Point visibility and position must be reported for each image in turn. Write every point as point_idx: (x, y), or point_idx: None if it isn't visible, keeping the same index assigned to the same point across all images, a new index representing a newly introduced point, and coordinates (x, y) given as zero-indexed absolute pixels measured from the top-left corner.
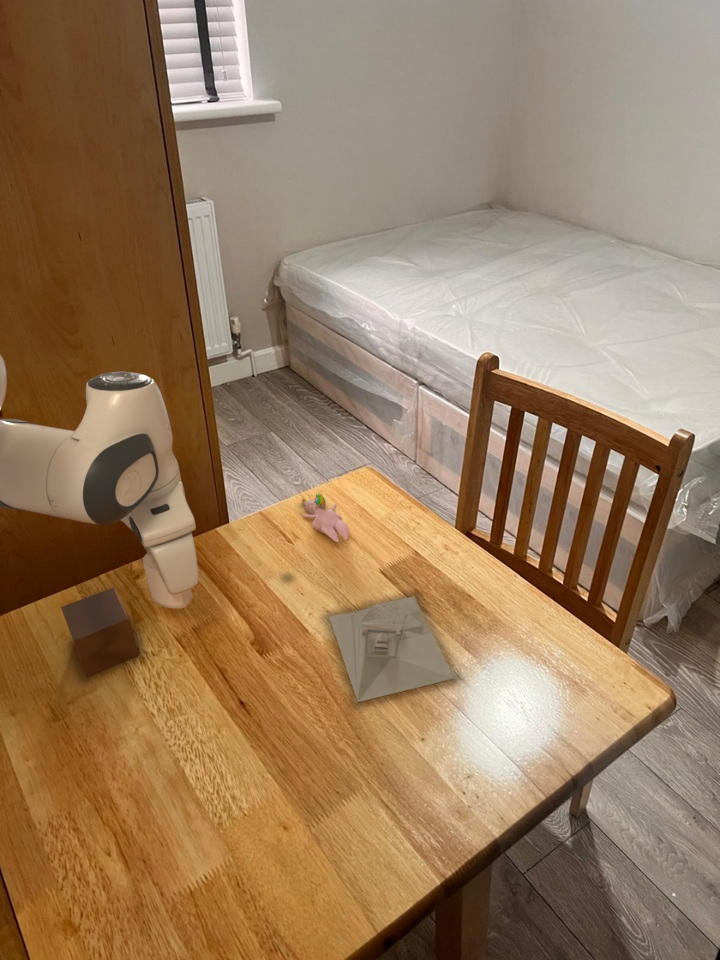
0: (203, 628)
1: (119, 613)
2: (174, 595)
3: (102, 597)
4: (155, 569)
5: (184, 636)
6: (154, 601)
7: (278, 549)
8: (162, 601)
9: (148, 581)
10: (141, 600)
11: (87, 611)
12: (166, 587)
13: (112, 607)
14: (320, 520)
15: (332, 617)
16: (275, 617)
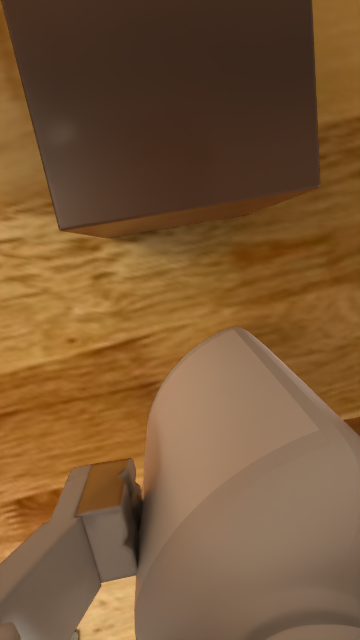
0: (144, 405)
1: (111, 191)
2: (153, 433)
3: (269, 116)
4: (202, 504)
5: (134, 359)
6: (220, 331)
7: None
8: (184, 366)
9: (251, 365)
10: (316, 274)
11: (191, 9)
12: (106, 473)
13: (169, 160)
14: None
15: (73, 637)
16: None
